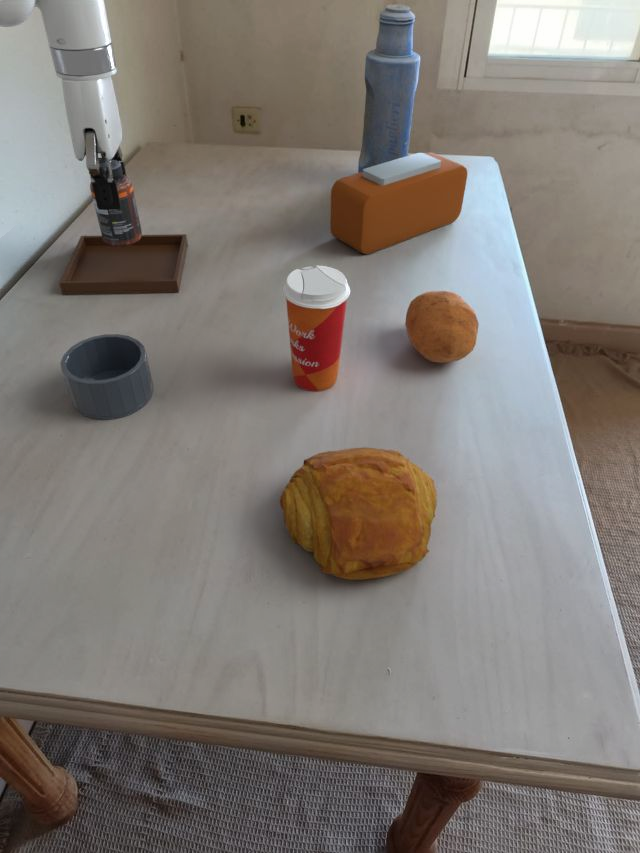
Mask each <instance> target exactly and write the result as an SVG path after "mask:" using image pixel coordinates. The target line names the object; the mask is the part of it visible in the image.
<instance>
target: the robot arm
mask: <svg viewBox="0 0 640 853" xmlns="http://www.w3.org/2000/svg"><path fill="white" fill-rule="evenodd" d="M35 8H37V9H39V11H40V14H41V17H42V21H43V26H44V29H45V34H46V38H47V43H48V45H49V51H50V55H51V59H52V63H53V67H54V72H55V75H56V77H57V78H60V79H61V84H62V85H61V86H62V93H63V101H64V107H65V113H66V118H67V123H68V128H69V134H70V138H71V143H72V148H73V153H74V157H75V159H76V160H77V161H79V162H83V161H84V159H85V161H86V162H85V166H86V169H87V170H88V174H89V178H90V183H91V182H92V186H93V190H94V194H95V199H96V203H97V207H98V209H99V210H119V209H120V208H121V203H120V198H119V193H118V189H117V184H116V180H113V175H112V167H111V160H116V161H118V162H120V163H121V167H122V170H123V173H122V174H123V175H125V176H127V172H126V166H125V162H124V157H123V152H122V150H121V143H122V140H123V128H122V127H123V126H122V120H121V114H120V111H119V106H118V100H117V97H116V92H115V87H114V81H113V79H112V76H114V75H116V74H117V73H118V69H117V64H116V59H115V53H114V46H113V42H112V38H111V37H112V36H111V33H110V32H111V30H110V26H109V20H108V15H107V9H106V4H105V0H0V27H2V28H11V27H16V26H19V25H21V24H23V23H24V22H26V21H27V20H28V19H29V18H30V17H31V15H32V13H33V11H34V9H35ZM99 154H100V157H99ZM99 163H105V166H106V171H105V169H104V168H103V167H100V164H99Z"/></svg>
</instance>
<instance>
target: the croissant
mask: <svg viewBox="0 0 640 853" xmlns="http://www.w3.org/2000/svg"><path fill="white" fill-rule="evenodd" d="M437 503H438V500H437V490H436V487H435V481H434V479H433V478H432V477H431V476H430V475H429V474H428V473H426V472H424V471H423V469H422V468H420V467H419V466H418V464H415V463H413V462H412V461H410V459H409V458H407V457H405V456H404V455H402V453H401V452H400V451H398V450H392V449H384V448H375V447H366V446H365V447H353V448H345V449H340V450H328V451H323V452H320V453H317V454H315V455H312V456H310V457H308V458H306V459H304V460H303V464H302V466H301V467H300V468H298V469H296V471H295V472H294V473H293V474H292V476H290V480H289V482H287V484H286V485H285V488H284V490H282V492H281V495H280V498H279V505H280V507H281V509H282V512H283V521H284V522H283V523H284V525H285V528H286V530H287V532H288V533H289V535H290V536H291V541H292V543H293V544H295V545H297V544H298V545H299V546H300V547H302V549H303V550H304V551H307V552H310V553H313V558H314V559H315V561H316V564H317V565H318V567H319V568H320V570H321V571H322V572H323V574H329V575H331V576H335V577H337V578H341V579H344V580H350V581H353V580H354V581H355V580H360V581H361V580H368V579H379V578H384V577H390V576H393V575H396V574H399V573H401V572H402V571H403V572H406V571H407V570H409V569H411V568H413V567H414V566H415V565H416V564H418V562H419V563H420V562H422V561H423V559H425V557H426V556H427V554H428V553H429V552H430V550H429V549H428V545H429V543H430V538H431V532H432V531H431V530H432V527H431V525H432V524H433V521H434V519H435V517H436V509H437V505H438V504H437Z"/></svg>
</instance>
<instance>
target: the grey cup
mask: <svg viewBox="0 0 640 853" xmlns="http://www.w3.org/2000/svg"><path fill="white" fill-rule="evenodd" d="M60 368H61V373H62V375H63V376H62V377H63V379H64V382H65V384H66V388H67V390H68V393H69V397H70V399H71V402H72V404H73V407H74V408H75V410H76V411H77V412H78V413H79V414H81V415H82V416H84V417H87V418H90V419H93V420H103V421H104V420H105V421H106V420H115V419H121V418H124V417H128V416H130V415H132V414H135V413H137V412H138V411H139V410H141V409H142V408H143V407H145V406H146V405H147V404H148V403H149V401H150V400H151V399H152V396H153V394H154V383H153V378H152V372H151V369H150V364H149V359H148V355H147V351H146V348H145V345H143V343H141V342H140V340H139V339H136V338H134V337H133V336H129V335H125V334H119V333H107V334H105V333H104V334H99V335H95V336H91V337H88V338H86V339H82V340H81V341H78V342H77V343H75V344H74V345H72V346H71V347H69V349H67V351H66V352H65V353H64V354H63V356H62V358H61V361H60Z"/></svg>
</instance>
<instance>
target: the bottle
mask: <svg viewBox="0 0 640 853" xmlns="http://www.w3.org/2000/svg"><path fill="white" fill-rule="evenodd" d="M415 18H416V15H415V13H413V11H411V7H410V6H408V5H403V4H387V5H386V6H385V9H384V10H381V11H380V14H379V18H378V22H379V27H378V32H377V36H376V37H377V38H376V42H375V49H372V50H369V51H368V52H367V53H366V55H365V64H364V65H365V66H364V85H365V100H364V114H363V128H362V138H361V139H362V140H361V147H360V148H361V149H360V153H359V158H358V163H357V164H358V165H357V166H358V167H357V173H361V172H363V169H365V168H368V167H372V166H375V165H379V164H382V163H386V162H389V161H392V160H396V159H399V158H403V157H406V156H409V147H410V137H411V130H412V123H413V122H412V120H413V111H414V102H415V96H416V92H417V87H418V83H419V75H420V66H421V56H420V54H419V53H417V52H415V51H413V47H414V39H413V38H414V37H413V36H414V34H413V33H414V32H413V31H414V23H415V20H416V19H415Z"/></svg>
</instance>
